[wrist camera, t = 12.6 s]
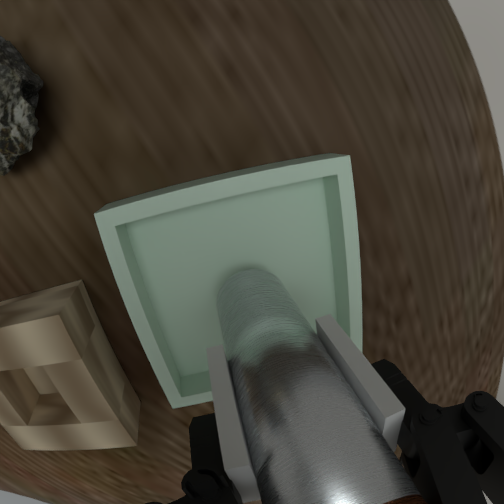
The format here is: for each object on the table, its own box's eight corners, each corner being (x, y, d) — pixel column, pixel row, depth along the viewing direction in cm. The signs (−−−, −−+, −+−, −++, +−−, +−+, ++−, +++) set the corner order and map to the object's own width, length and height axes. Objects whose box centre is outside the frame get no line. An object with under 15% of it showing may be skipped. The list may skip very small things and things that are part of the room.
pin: (225, 339, 20) (296, 600, 5) (208, 279, 19) (281, 593, 3) (290, 321, 21) (422, 551, 6) (280, 261, 19) (466, 512, 4)
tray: (172, 383, 24) (172, 408, 21) (106, 204, 19) (93, 213, 16) (346, 335, 26) (362, 355, 23) (329, 153, 21) (349, 155, 18)
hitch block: (36, 413, 23) (23, 449, 18) (-27, 309, 19) (-55, 339, 14) (140, 402, 24) (137, 445, 20) (82, 279, 20) (58, 314, 15)
